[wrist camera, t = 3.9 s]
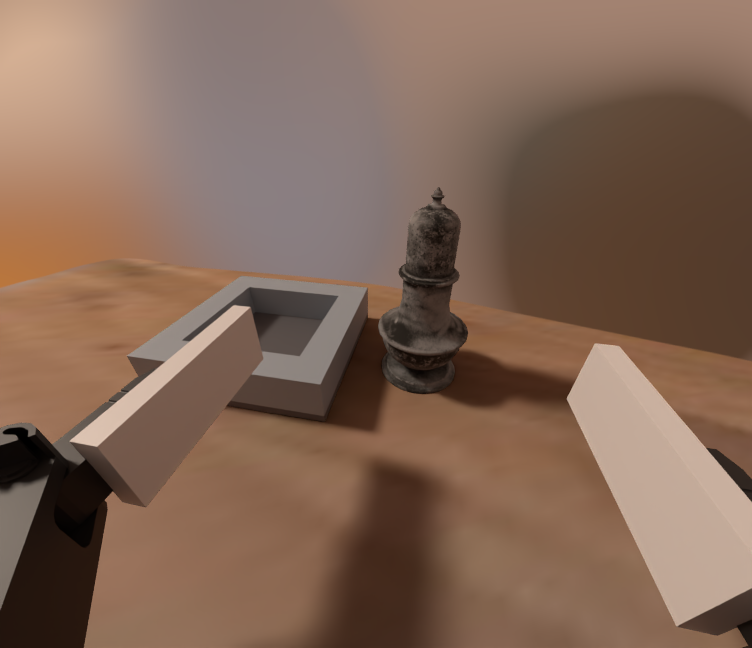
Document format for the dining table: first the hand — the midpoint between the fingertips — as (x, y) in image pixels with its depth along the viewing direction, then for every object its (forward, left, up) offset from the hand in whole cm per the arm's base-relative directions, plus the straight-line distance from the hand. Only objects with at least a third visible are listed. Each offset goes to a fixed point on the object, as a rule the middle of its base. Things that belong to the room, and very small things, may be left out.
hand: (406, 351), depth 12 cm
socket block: (+10, -7, -7) cm, 14 cm away
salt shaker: (-1, -7, -7) cm, 10 cm away
